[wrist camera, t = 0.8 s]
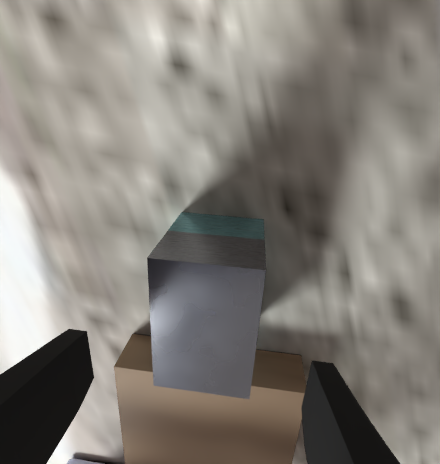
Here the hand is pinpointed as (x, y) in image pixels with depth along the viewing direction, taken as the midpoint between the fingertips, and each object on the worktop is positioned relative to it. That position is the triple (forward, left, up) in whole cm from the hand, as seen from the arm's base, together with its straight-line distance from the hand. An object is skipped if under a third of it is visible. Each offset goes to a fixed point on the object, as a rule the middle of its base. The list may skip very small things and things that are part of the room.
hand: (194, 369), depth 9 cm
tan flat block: (-10, 0, -7) cm, 12 cm away
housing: (0, 0, -7) cm, 7 cm away
